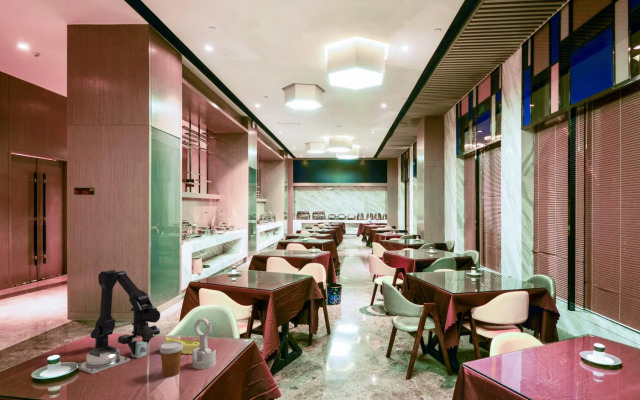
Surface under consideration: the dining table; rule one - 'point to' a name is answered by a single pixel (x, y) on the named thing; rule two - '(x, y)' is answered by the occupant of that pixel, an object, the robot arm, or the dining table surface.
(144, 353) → the block with peg
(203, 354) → the engine component
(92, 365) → the metal mounting base
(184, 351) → the plastic component
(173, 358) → the disposable coffee cup
